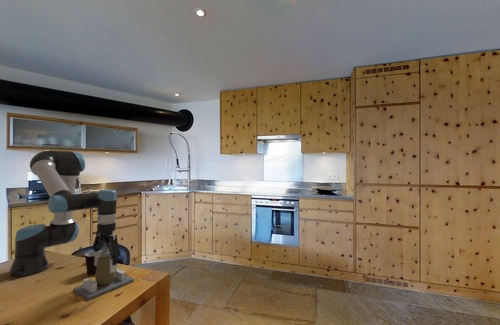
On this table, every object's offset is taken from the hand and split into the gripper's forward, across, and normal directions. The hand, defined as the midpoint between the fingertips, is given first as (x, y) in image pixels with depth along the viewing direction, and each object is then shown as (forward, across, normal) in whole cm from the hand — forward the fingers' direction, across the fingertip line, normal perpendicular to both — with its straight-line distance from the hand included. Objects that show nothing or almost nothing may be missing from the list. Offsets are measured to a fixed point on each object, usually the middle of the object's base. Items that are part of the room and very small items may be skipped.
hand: (105, 268), depth 111 cm
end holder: (+8, 0, 0) cm, 8 cm away
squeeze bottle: (+7, 0, 0) cm, 7 cm away
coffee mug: (+8, -20, +6) cm, 22 cm away
